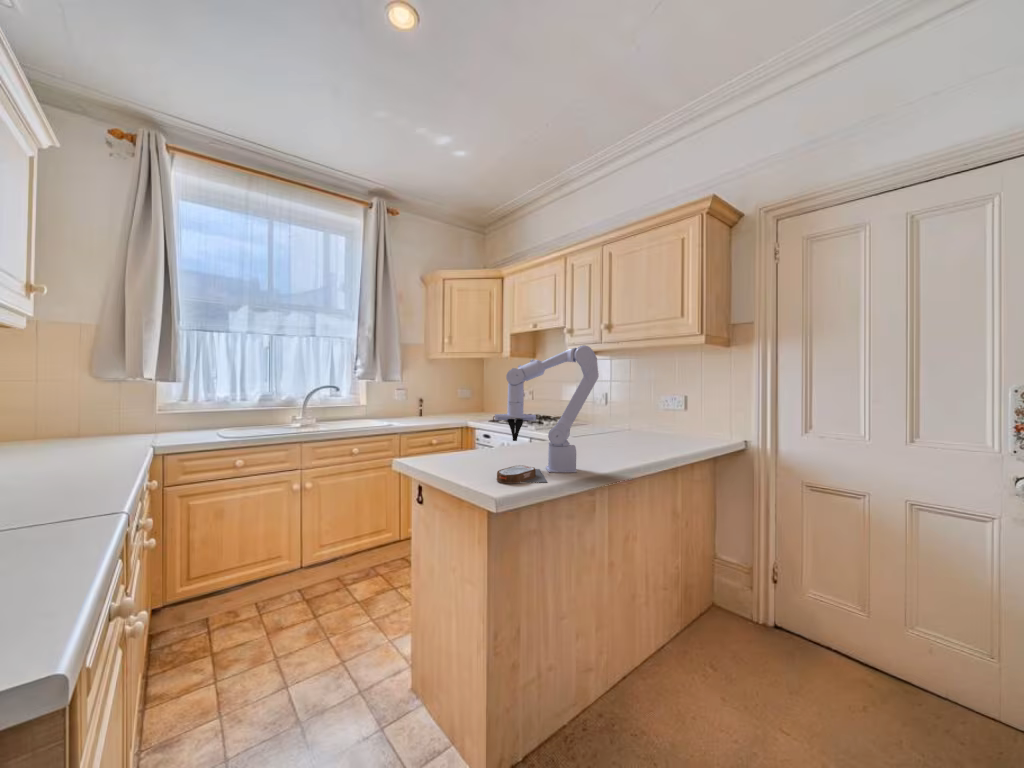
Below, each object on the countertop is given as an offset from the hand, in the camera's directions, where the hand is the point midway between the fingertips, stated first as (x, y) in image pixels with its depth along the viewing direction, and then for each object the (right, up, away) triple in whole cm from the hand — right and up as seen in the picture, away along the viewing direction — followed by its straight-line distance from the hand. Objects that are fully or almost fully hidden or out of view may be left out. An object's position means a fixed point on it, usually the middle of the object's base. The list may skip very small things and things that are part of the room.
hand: (514, 440), depth 147 cm
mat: (+4, -10, -13) cm, 16 cm away
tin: (-3, -8, -14) cm, 16 cm away
